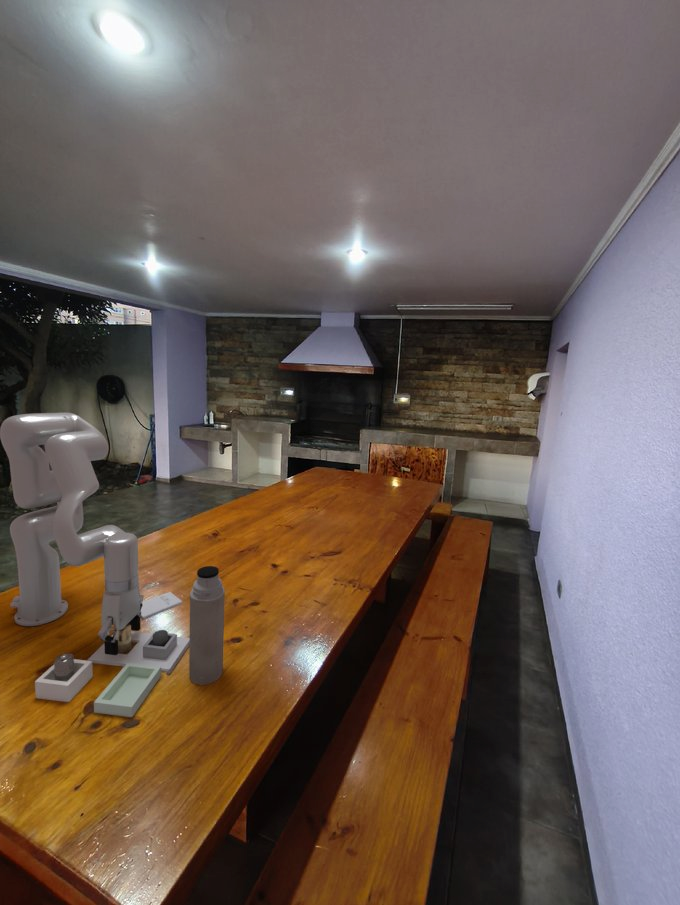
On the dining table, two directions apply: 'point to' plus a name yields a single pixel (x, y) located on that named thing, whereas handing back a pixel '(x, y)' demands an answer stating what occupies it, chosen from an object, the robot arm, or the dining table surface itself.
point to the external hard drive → (159, 605)
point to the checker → (146, 652)
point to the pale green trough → (127, 690)
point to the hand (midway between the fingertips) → (123, 641)
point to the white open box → (63, 682)
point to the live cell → (124, 639)
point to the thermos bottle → (206, 627)
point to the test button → (160, 638)
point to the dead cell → (64, 667)
